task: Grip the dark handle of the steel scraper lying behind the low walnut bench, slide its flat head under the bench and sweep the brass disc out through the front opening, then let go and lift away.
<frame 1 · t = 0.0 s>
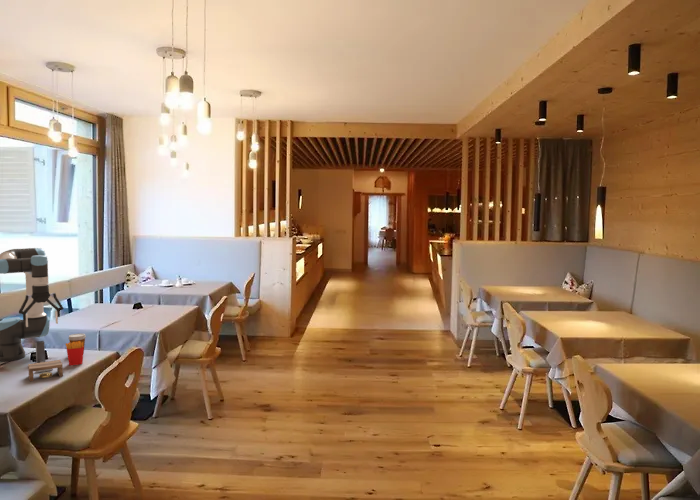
hand: (42, 324, 277), 28 cm above the table, tool pointing down, fingers open, 13 cm apart
french fries: (75, 364, 301), on the table
brass disc: (45, 376, 280), on the table
walnut bench: (45, 376, 280), on the table
disposable coffee cup: (77, 354, 320), on the table
steel scraper: (40, 362, 303), on the table
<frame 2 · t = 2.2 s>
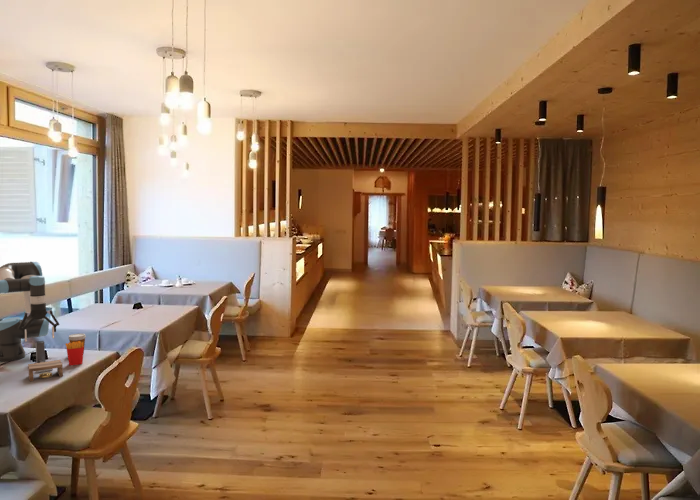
hand: (39, 339, 302), 14 cm above the table, tool pointing down, fingers open, 13 cm apart
nothing on the table moved.
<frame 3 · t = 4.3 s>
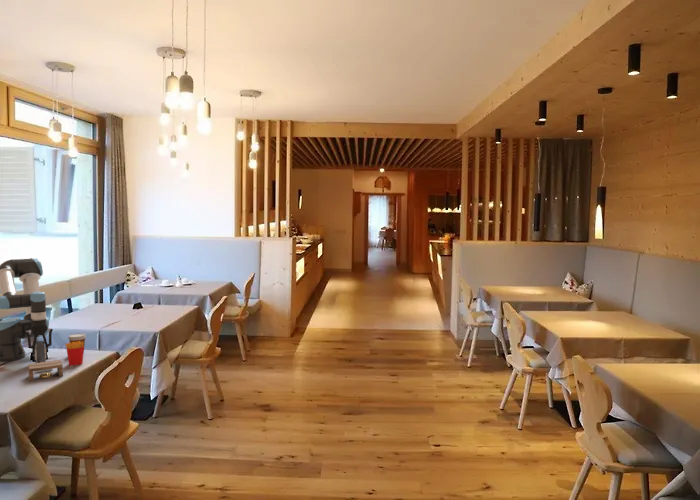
hand: (40, 358, 303), 2 cm above the table, tool pointing down, fingers closed on steel scraper, 4 cm apart
steel scraper: (40, 362, 303), on the table, touching gripper
everything else where it was.
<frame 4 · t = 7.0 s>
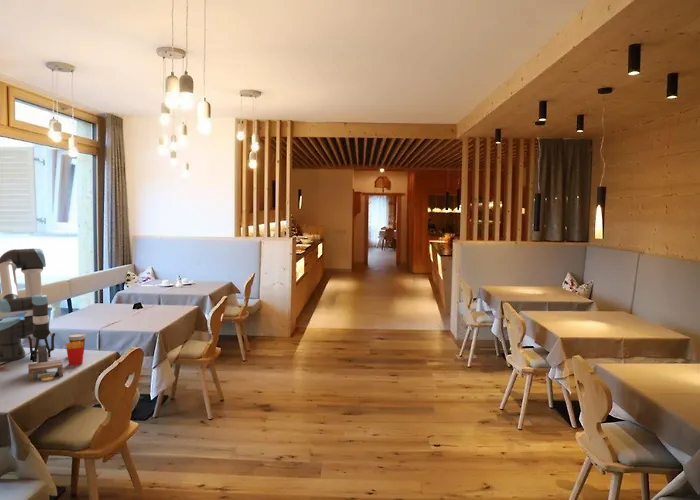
hand: (42, 364, 293), 2 cm above the table, tool pointing down, fingers closed on steel scraper, 4 cm apart
brass disc: (47, 379, 275), on the table
steel scraper: (42, 367, 293), on the table, touching gripper
everything else where it was.
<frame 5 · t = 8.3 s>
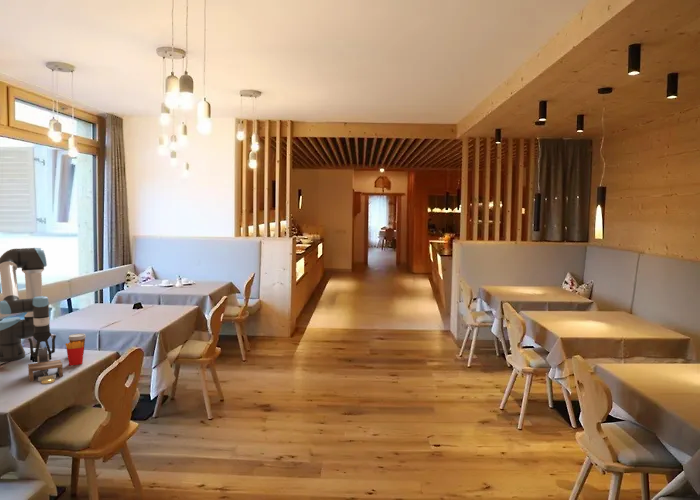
hand: (43, 366, 289), 2 cm above the table, tool pointing down, fingers closed on steel scraper, 4 cm apart
brass disc: (48, 382, 271), on the table
steel scraper: (43, 370, 289), on the table, touching gripper
everything else where it was.
when the fingers open (2 cm above the table, at t = 9.2 s): steel scraper stays where it is, on the table.
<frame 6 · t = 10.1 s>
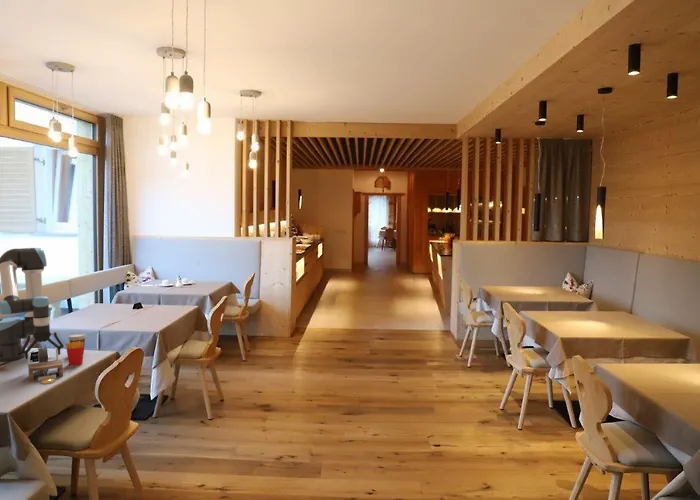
hand: (43, 362, 289), 4 cm above the table, tool pointing down, fingers open, 13 cm apart
steel scraper: (43, 370, 289), on the table
everything else where it was.
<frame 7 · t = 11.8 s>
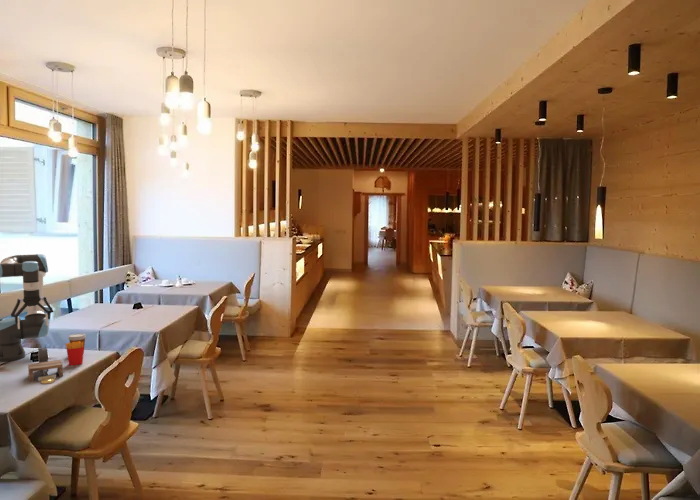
hand: (33, 326, 293), 23 cm above the table, tool pointing down, fingers open, 13 cm apart
nothing on the table moved.
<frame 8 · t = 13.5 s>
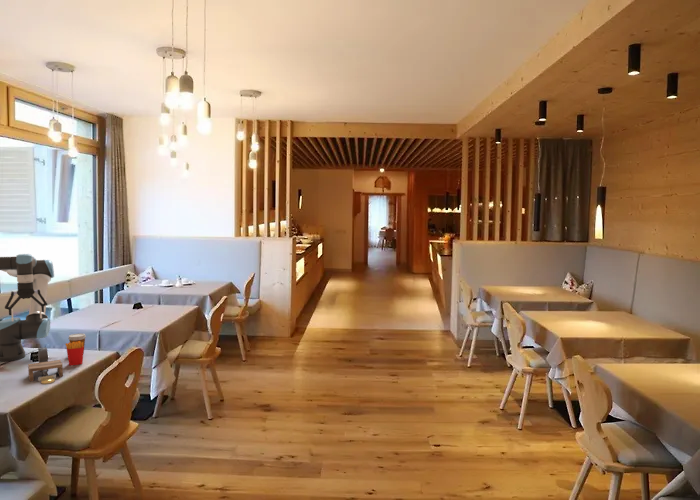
hand: (27, 319, 294), 27 cm above the table, tool pointing down, fingers open, 13 cm apart
nothing on the table moved.
at the end: brass disc inside the target area (4.8 cm from its centre), on the table; the gripper is holding nothing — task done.
